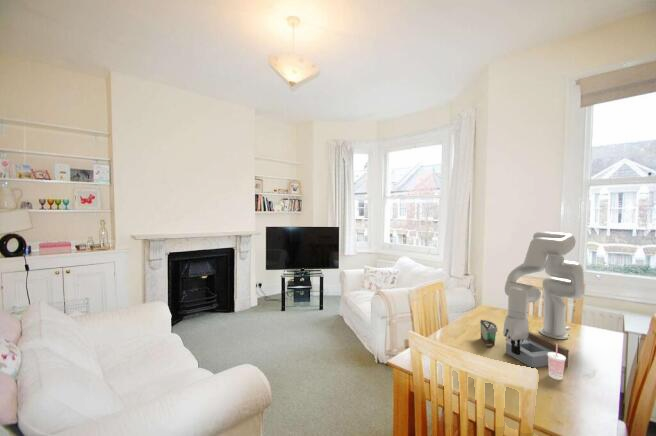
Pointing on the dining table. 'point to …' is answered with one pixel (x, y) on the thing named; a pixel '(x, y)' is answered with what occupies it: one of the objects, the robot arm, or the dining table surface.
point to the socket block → (530, 353)
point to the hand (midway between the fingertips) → (515, 353)
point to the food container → (488, 333)
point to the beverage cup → (556, 364)
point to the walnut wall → (549, 346)
